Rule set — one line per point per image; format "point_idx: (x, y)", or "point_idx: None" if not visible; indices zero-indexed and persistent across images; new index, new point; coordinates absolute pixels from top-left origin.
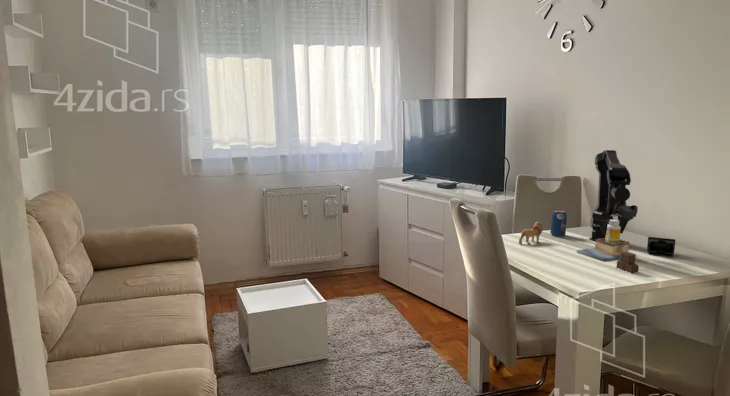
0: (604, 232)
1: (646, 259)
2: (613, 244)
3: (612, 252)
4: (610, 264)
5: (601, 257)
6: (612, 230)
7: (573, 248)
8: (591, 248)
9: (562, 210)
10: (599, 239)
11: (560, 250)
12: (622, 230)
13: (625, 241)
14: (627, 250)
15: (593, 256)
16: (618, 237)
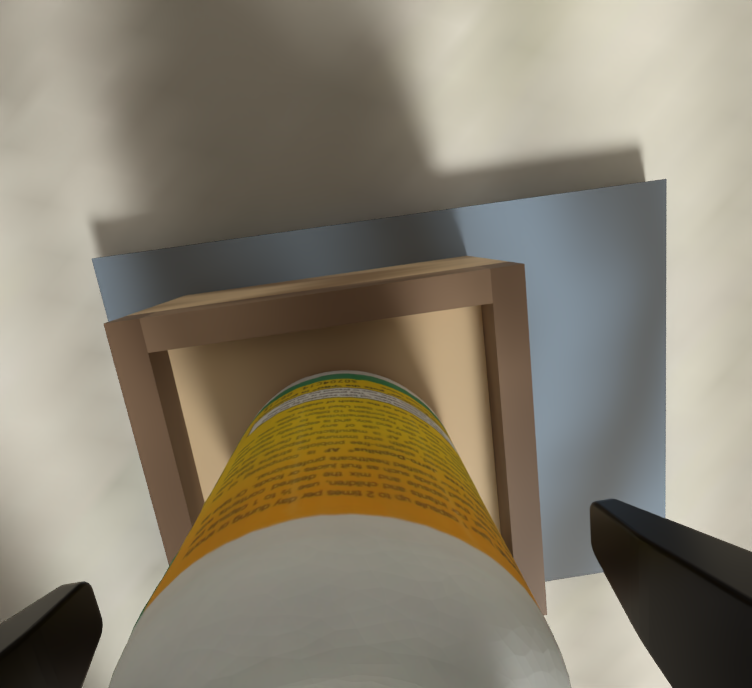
0: (685, 543)
1: (50, 99)
2: (506, 266)
3: (474, 258)
4: (659, 33)
5: (634, 236)
6: (497, 540)
7: None
8: None
9: None
10: None
11: None
12: (31, 631)
13: (147, 381)
14: (189, 297)
15: (660, 324)
16: (306, 410)
